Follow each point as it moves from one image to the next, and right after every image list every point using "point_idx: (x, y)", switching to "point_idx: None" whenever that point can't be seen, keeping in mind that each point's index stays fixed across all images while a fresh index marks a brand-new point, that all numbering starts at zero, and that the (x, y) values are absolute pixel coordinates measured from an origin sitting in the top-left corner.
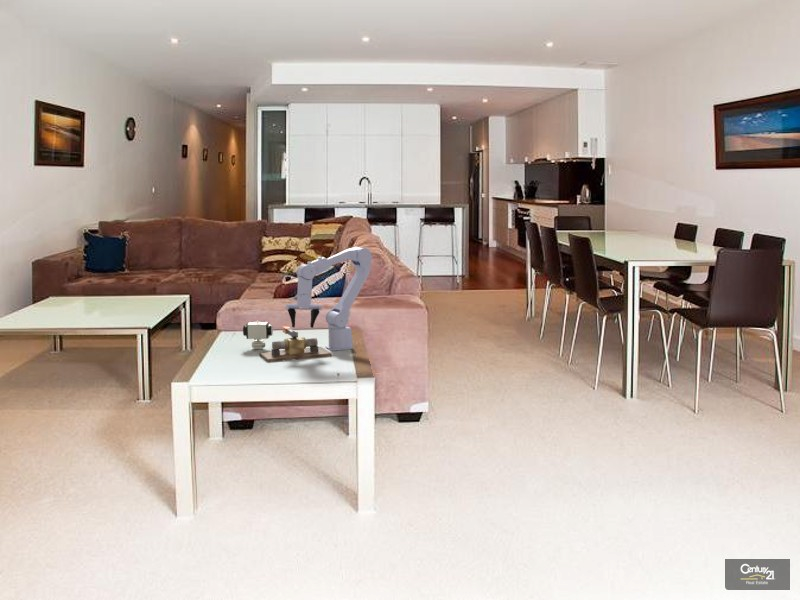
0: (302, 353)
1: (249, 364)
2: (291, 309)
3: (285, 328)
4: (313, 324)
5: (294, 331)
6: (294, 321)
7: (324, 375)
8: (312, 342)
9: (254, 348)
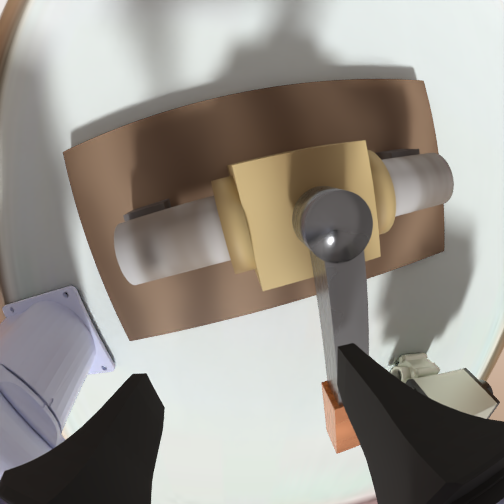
0: (239, 161)
1: (464, 81)
2: (479, 501)
3: None
4: (117, 392)
5: (332, 295)
6: (372, 382)
7: None
8: (156, 213)
9: (424, 353)
